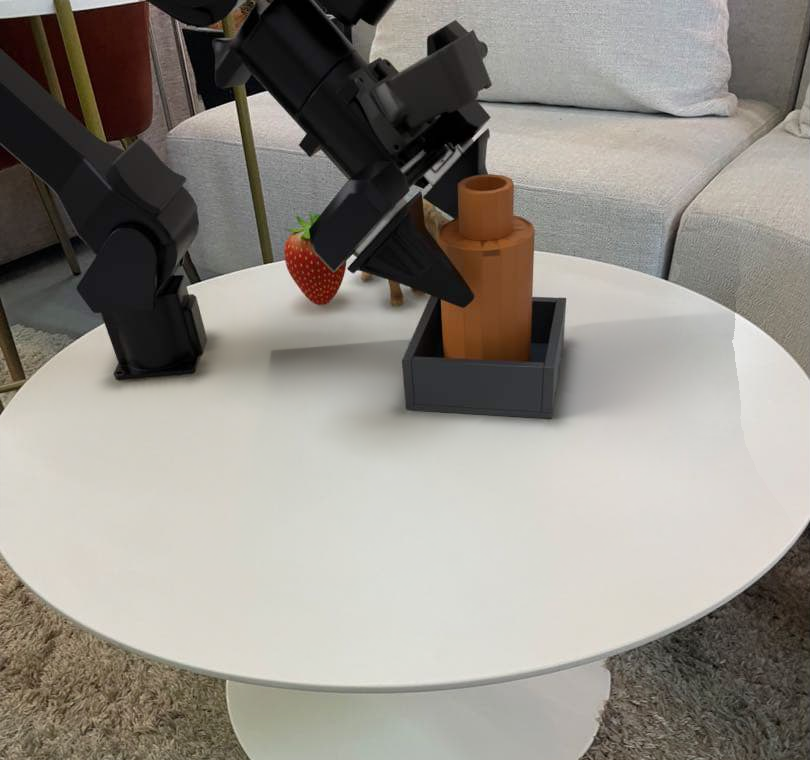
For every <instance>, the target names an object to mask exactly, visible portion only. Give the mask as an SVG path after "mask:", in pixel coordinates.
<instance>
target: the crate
mask: <svg viewBox="0 0 810 760" xmlns="http://www.w3.org/2000/svg"><path fill="white" fill-rule="evenodd" d="M566 311H567V297H551V296H547V297H546V296H532V322H531V351H530V362H520V361H499V360H478V359H457V358H444V356H443V334H442V312H441V299H439V298H436V297H434V296H431V295H429V298H428V300H427V303H426V305H425V307H424V310H423V312H422V314H421V317H420V319H419V321H418V323H417V326H416V328H415V330H414V332H413V335H412V337H411V339H410V341H409V343H408V346H407V348H406V351H405V353H404V355H403V357H402V359H401V368H402V369H401V370H402V380H403V382H402V383H403V391H404V402H405V404H404V405H405V407H404V408H405V410H406V411H421V412H437V413H453V414H466V415H467V414H468V415H469V414H470V415H472V414H473V415H485V416H501V417H519V418H535V419H548V420H549V419H552V418H553V414H554V413H553V412H554V406H555V399H556V394H557V387H558V381H559V375H560V369H561V362H562V356H563V350H564V343H565V326H566V313H567V312H566Z"/></svg>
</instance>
